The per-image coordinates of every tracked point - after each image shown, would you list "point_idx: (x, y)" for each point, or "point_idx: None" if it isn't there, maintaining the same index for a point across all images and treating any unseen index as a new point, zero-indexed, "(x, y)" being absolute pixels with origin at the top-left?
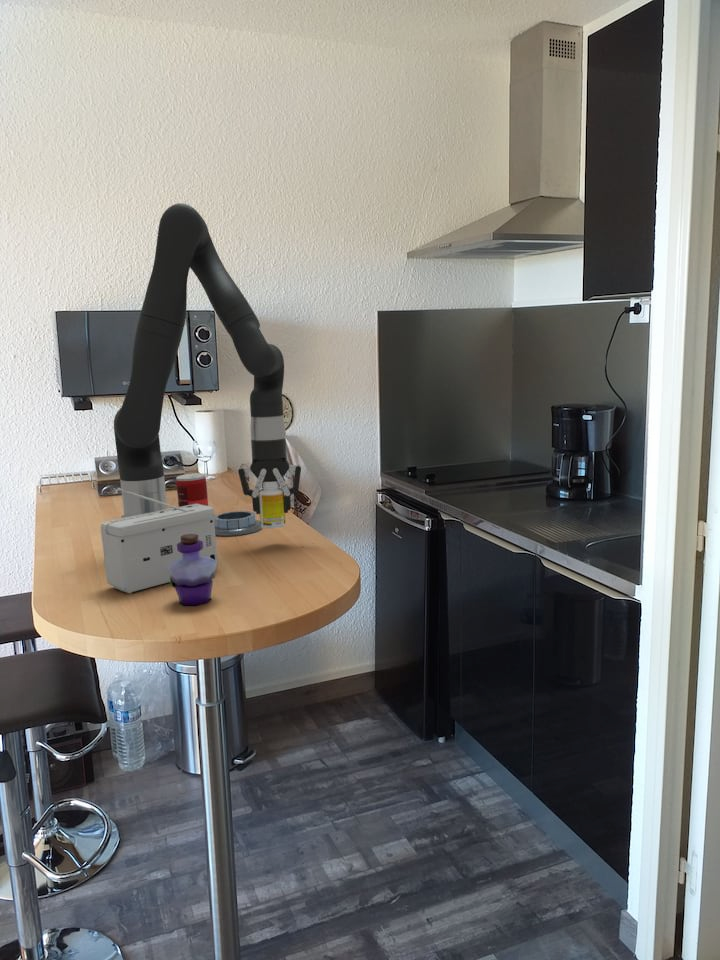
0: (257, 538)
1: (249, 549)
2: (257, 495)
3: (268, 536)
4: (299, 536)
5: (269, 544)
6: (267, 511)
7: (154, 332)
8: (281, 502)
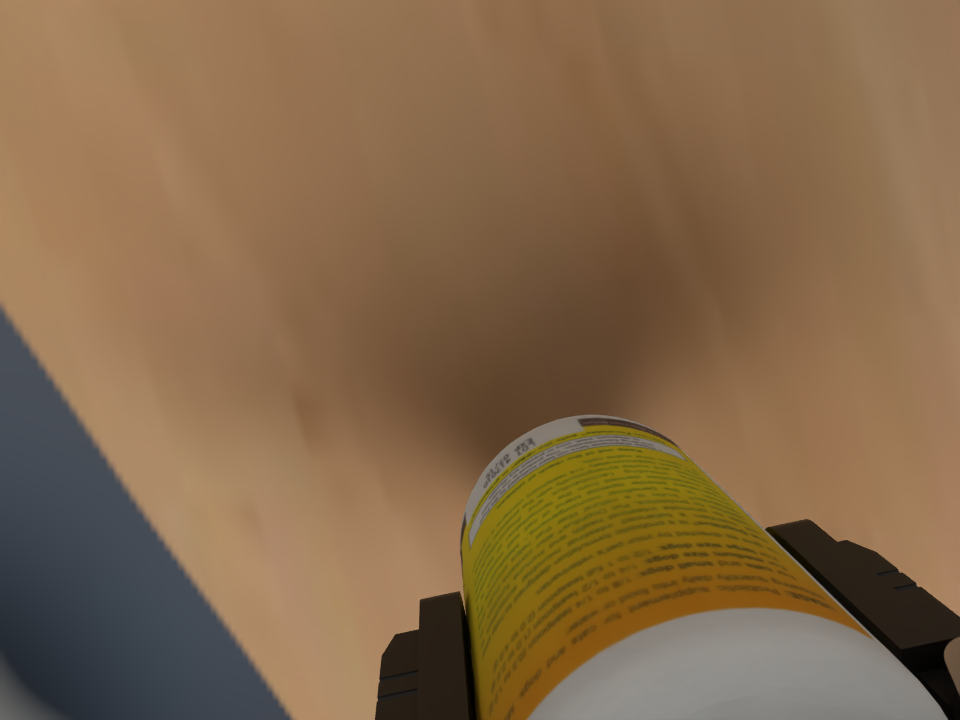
0: None
1: (720, 367)
2: (946, 698)
3: None
4: None
5: None
6: (664, 481)
7: None
8: (496, 635)
